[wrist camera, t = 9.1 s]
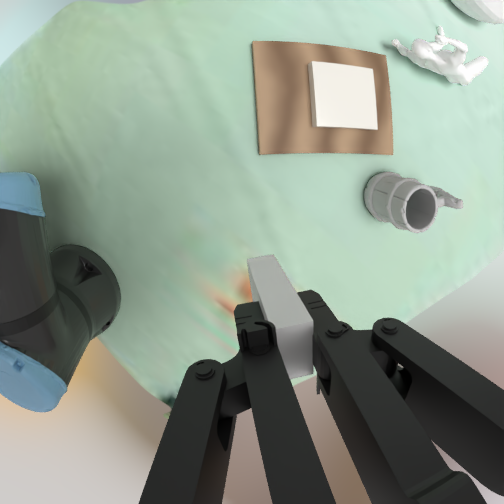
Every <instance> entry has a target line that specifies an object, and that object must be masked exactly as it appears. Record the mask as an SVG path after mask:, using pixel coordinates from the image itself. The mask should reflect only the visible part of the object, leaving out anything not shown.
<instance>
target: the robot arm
mask: <svg viewBox="0 0 504 504" xmlns="http://www.w3.org/2000/svg"><path fill="white" fill-rule="evenodd" d="M44 217H46V215H45V212H44V211H43V206H42V200H41V192H40V185H39V182H38V180H37V178H36V177H35V176H34V175H32V174H31V173H28V172H3V173H0V393H1V394H2V395H3V396H5V397H6V398H7V399H9V400H10V401H12V402H13V403H15V404H17V405H19V406H21V407H23V408H25V409H28V410H31V411H35V412H48V411H51V410H52V409H54V408H55V407H56V406H57V405H58V403H59V401H60V399H61V397H62V396H63V394H64V393H66V391H67V387H68V384H69V382H70V380H71V378H72V376H73V374H74V371H75V369H76V367H77V365H78V363H79V361H80V359H81V357H82V355H83V353H84V351H85V349H86V347H87V345H88V343H89V342H90V340H92V339H93V338H95V337H96V336H98V335H99V334H101V333H102V332H103V331H105V330H106V329H107V328H108V327H109V326H110V325H111V324H112V322H113V321H114V319H115V317H116V315H117V313H118V311H119V308H120V301H121V296H120V289H119V285H118V282H117V280H116V277H115V275H114V274H113V272H112V270H111V269H110V267H109V266H108V265H107V264H106V263H105V261H104V260H103V259H102V258H100V257H99V256H98V255H97V254H95V253H94V252H92V251H91V250H89V249H86V248H84V247H81V246H76V245H66V246H62V247H59V248H57V249H56V250H54V251H53V252H51V253H50V252H49V246H48V240H47V233H46V226H45V218H44ZM247 264H248V271H249V278H250V285H251V292H252V298H253V302H250V303H245V304H239V305H237V306H236V308H235V310H234V316H235V322H236V327H237V336H238V341H239V346H240V349H239V352H238V353H237V355H236V356H235V357H234V358H232V359H231V360H229V361H227V362H225V363H222V364H221V363H220V362H218V361H216V360H211V359H206V360H200V361H198V362H195V363H194V364H192V365H191V366H189V368H188V370H187V371H186V373H185V376H184V379H183V381H182V384H181V387H180V389H179V392H178V395H177V398H176V400H175V403H174V406H173V408H172V411H171V414H170V416H169V419H168V422H167V425H166V427H165V430H164V433H163V436H162V439H161V441H160V444H159V447H158V450H157V453H156V455H155V458H154V461H153V464H152V466H151V470H150V472H149V475H148V478H147V481H146V484H145V487H144V489H143V492H142V495H141V498H140V501H139V504H222V499H223V494H224V488H225V482H226V476H227V471H228V465H229V459H230V453H231V447H232V442H233V436H234V430H235V423H236V418H237V414H239V413H241V412H243V411H245V410H248V409H250V408H252V412H253V418H254V422H255V427H256V432H257V437H258V441H259V446H260V450H261V455H262V460H263V464H264V469H265V472H266V477H267V482H268V486H269V490H270V495H271V499H272V503H273V504H336V502H335V499H334V497H333V494H332V492H331V489H330V486H329V484H328V481H327V478H326V476H325V473H324V470H323V468H322V465H321V462H320V459H319V457H318V454H317V451H316V449H315V446H314V443H313V441H312V438H311V435H310V433H309V430H308V427H307V425H306V422H305V419H304V416H303V414H302V411H301V408H300V405H299V403H298V400H297V397H296V395H295V392H294V389H293V386H292V384H291V381H290V379H294V378H298V377H302V376H306V375H310V374H313V365H314V367H315V369H316V371H317V394H320V389H321V391H322V394H323V396H324V398H325V400H326V402H327V405H328V407H329V409H330V411H331V413H332V416H333V418H334V420H335V422H336V425H337V427H338V429H339V431H340V433H341V436H342V438H343V440H344V442H345V445H346V447H347V449H348V451H349V453H350V455H351V458H352V460H353V462H354V465H355V467H356V469H357V471H358V474H359V476H360V478H361V480H362V483H363V485H364V487H365V489H366V491H367V494H368V496H369V498H370V500H371V503H372V504H487V503H486V501H485V500H484V498H483V497H482V495H481V493H480V492H479V490H478V488H477V487H476V485H475V484H474V482H473V481H472V479H471V478H470V477H469V476H468V475H467V474H465V473H464V472H460V471H453V470H451V469H450V468H449V467H448V466H447V464H446V463H445V461H444V460H443V458H442V456H441V455H440V453H439V452H438V450H437V449H436V447H435V446H434V444H433V443H432V441H433V442H434V443H435V444H437V445H438V446H439V447H440V448H441V449H442V450H443V451H444V452H446V453H447V454H448V455H449V456H450V457H451V458H452V459H454V460H455V461H456V462H457V463H458V464H459V465H460V466H462V467H463V468H464V469H465V470H466V471H467V472H468V473H470V474H471V475H472V476H473V477H474V478H476V479H477V480H478V481H479V482H480V483H481V484H483V485H484V486H485V487H487V488H488V489H490V490H491V491H493V492H495V493H497V494H499V495H501V496H504V390H503V389H501V388H500V387H498V386H497V385H496V384H494V383H493V382H491V381H490V380H488V379H487V378H486V377H484V376H483V375H481V374H479V373H478V372H477V371H475V370H474V369H472V368H471V367H469V366H468V365H466V364H465V363H464V362H462V361H461V360H459V359H457V358H456V357H454V356H453V355H452V354H450V353H449V352H447V351H446V350H444V349H442V348H441V347H440V346H438V345H436V344H435V343H433V342H432V341H431V340H429V339H427V338H426V337H424V336H423V335H421V334H419V333H418V332H416V331H415V330H414V329H412V328H411V327H409V326H408V325H406V324H405V323H403V322H401V321H400V320H397V319H394V318H382V319H379V320H377V321H376V322H375V323H374V325H373V329H372V330H353V329H352V327H351V326H350V325H348V324H347V323H344V322H342V321H338V320H337V318H336V317H335V315H334V314H333V313H332V311H331V310H330V308H329V307H328V306H327V304H326V303H325V302H324V301H323V299H322V297H321V296H320V295H319V294H318V293H316V292H314V291H313V290H308V291H303V292H298V293H297V292H296V291H295V289H294V287H293V286H292V284H291V282H290V281H289V279H288V277H287V276H286V274H285V272H284V271H283V269H282V267H281V266H280V264H279V262H278V261H277V259H276V257H275V256H274V254H272V255H267V256H261V257H255V258H249V259H247ZM398 363H399V364H401V365H402V366H403V368H401V367H400V366H398ZM431 440H432V441H431Z"/></svg>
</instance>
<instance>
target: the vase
mask: <svg viewBox="0 0 504 504" xmlns="http://www.w3.org/2000/svg"><path fill="white" fill-rule="evenodd" d="M450 1H451V2H452V3H453V4H454V5H455V6H456V7H457V8H459V9H460V10H461V11H463V12H464V13H465V14H467V15H468V16H470V17H472V18H474V19H476V20H479V21H482V22H486V23H490V24H500V23H504V0H450Z"/></svg>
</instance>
